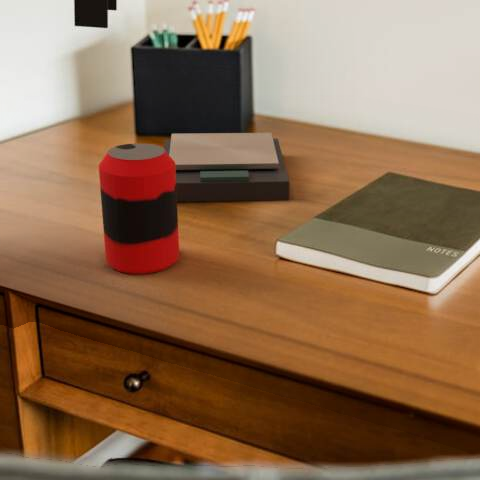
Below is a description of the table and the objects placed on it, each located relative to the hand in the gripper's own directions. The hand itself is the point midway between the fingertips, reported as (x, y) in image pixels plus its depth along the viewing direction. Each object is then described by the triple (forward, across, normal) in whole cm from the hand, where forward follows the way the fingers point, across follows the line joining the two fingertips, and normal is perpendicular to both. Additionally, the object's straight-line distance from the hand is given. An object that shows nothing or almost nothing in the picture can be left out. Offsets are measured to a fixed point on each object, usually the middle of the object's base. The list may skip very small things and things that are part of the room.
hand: (97, 17), depth 84 cm
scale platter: (+21, +30, -14) cm, 39 cm away
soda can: (+25, +2, -4) cm, 26 cm away
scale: (+23, +29, -14) cm, 40 cm away
